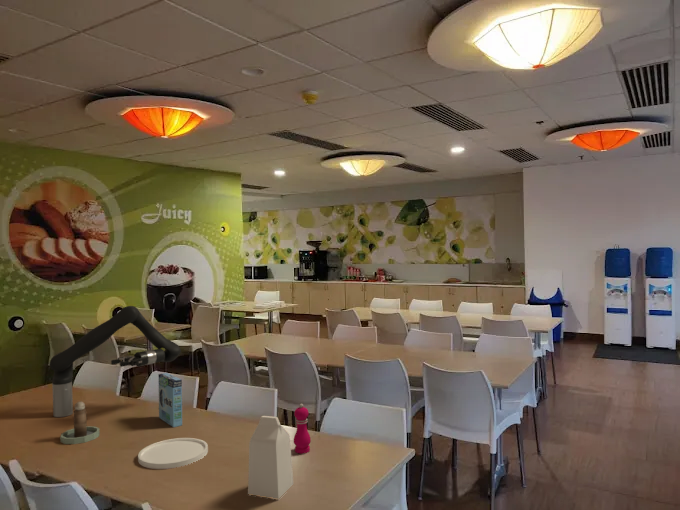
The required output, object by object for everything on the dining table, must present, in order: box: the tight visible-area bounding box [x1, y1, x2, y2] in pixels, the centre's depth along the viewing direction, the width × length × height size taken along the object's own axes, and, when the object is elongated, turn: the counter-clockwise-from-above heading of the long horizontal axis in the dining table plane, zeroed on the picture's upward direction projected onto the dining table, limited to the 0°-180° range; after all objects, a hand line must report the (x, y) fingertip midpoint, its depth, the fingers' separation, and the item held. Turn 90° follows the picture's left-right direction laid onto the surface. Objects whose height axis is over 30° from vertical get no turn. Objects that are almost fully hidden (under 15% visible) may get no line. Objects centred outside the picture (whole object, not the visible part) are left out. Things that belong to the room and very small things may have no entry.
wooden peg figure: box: [73, 400, 88, 438], centre depth 238 cm, size 5×5×16 cm
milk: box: [247, 415, 294, 500], centre depth 180 cm, size 12×12×26 cm
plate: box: [137, 437, 209, 470], centre depth 214 cm, size 28×28×2 cm
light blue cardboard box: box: [157, 372, 183, 428], centre depth 257 cm, size 20×5×23 cm, turn 39°
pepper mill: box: [293, 403, 312, 455], centre depth 215 cm, size 7×7×20 cm
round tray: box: [59, 425, 100, 445], centre depth 238 cm, size 16×16×2 cm
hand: (116, 363), depth 257 cm, fingers open, 8 cm apart
